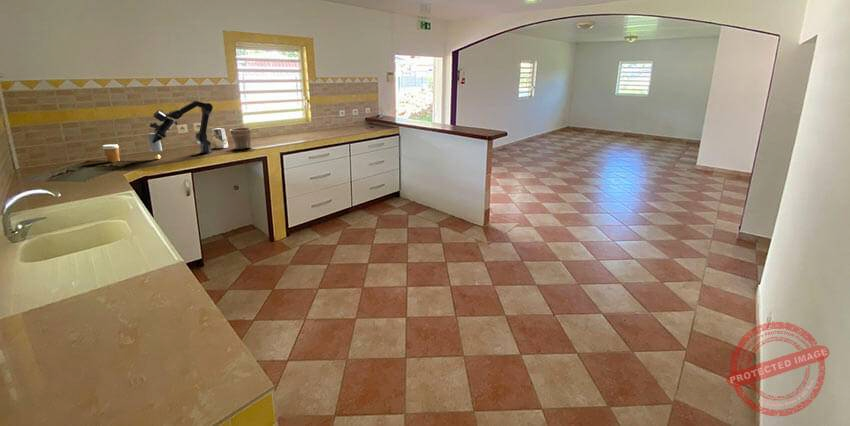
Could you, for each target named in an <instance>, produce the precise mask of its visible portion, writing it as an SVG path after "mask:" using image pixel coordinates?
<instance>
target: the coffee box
mask: <svg viewBox="0 0 850 426" xmlns="http://www.w3.org/2000/svg"><path fill="white" fill-rule="evenodd" d="M211 134H212V139H213V145H214V149H227V148H229V143H228V142H229V141H228V137H227V132H226V128H224V127H223V128H220V127H219V128H217V127H216V128H211Z"/></svg>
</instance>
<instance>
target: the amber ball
mask: <svg viewBox="0 0 850 426" xmlns="http://www.w3.org/2000/svg"><path fill="white" fill-rule="evenodd" d="M154 157H155V159H156V160H160V159H161V155H160V154H156V155H155V156H154Z"/></svg>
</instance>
